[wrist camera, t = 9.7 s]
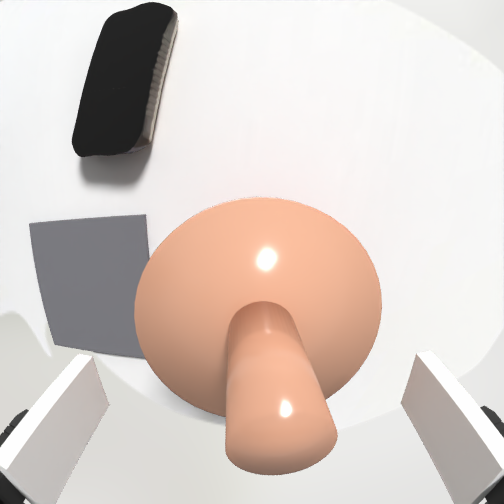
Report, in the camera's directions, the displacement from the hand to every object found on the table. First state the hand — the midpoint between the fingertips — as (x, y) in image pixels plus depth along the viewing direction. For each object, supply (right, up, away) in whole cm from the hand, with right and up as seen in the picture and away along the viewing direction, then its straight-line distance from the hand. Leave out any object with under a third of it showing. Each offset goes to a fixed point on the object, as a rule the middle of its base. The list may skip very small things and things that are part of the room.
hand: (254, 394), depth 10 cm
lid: (0, +1, +6) cm, 7 cm away
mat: (-18, +1, +19) cm, 27 cm away
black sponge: (-12, +23, +14) cm, 30 cm away
